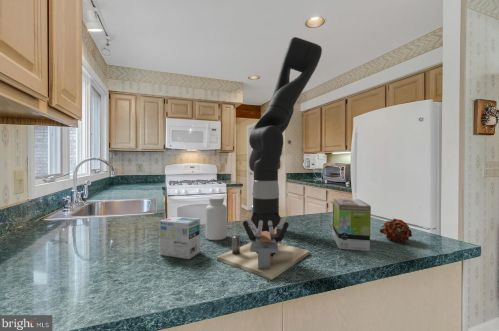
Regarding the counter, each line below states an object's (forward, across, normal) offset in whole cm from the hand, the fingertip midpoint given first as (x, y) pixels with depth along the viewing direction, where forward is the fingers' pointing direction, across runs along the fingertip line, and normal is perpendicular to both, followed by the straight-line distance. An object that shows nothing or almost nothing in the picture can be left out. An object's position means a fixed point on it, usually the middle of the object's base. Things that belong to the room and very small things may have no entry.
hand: (265, 254), depth 71 cm
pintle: (+1, +9, -2) cm, 9 cm away
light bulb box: (+2, +27, -2) cm, 27 cm away
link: (-2, 0, -2) cm, 3 cm away
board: (+1, 0, -2) cm, 3 cm away
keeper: (0, 0, +6) cm, 6 cm away
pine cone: (+2, -46, -23) cm, 51 cm away
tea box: (+2, -28, -18) cm, 34 cm away
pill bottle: (+2, +20, -19) cm, 27 cm away
